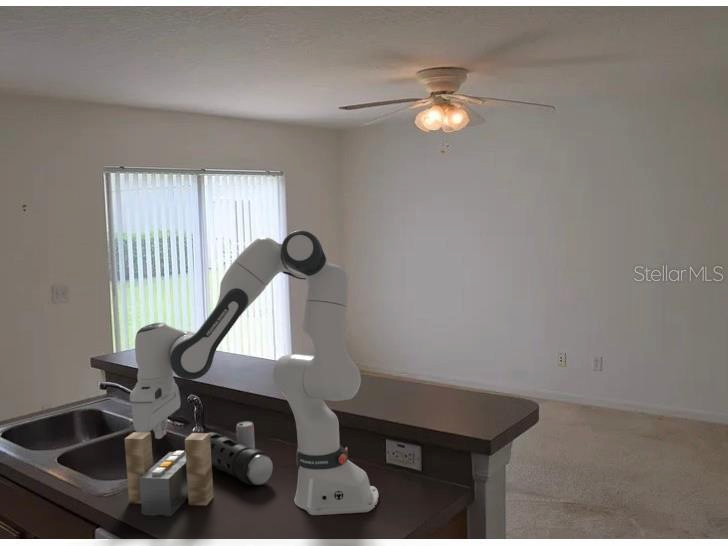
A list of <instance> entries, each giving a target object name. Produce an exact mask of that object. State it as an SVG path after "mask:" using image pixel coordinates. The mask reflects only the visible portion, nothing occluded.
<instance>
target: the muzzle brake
mask: <svg viewBox="0 0 728 546" xmlns="http://www.w3.org/2000/svg"><path fill="white" fill-rule="evenodd" d="M209 433H210V445H211V462H212V467H215V468H217V469H219V470H221V471H223V472H226V473H228V474H229V475H231V476H234V477H235V478H237V479H239V480H240V481H241V482H243V483H245V484H247V485H250V486H256V485H257V486H261V485H263V484H265V483H266V482H267V481H269V479H270V478H271V476H272V473H273V470H274V468H273V466H274V465H273V461H272V459H271V458H270V456H269V455H268V453H266V452H265V451H262V450H260V449H258V448H255V449H254V448H250V447H248V446H246V445H243V444H241V443H239V442H237V440H233V439H231V438H229V437H227V436H224V435H223V434H219V433H218V432H213V431H211V432H209ZM215 438H217V439H215Z"/></svg>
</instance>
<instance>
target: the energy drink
mask: <svg viewBox="0 0 728 546" xmlns="http://www.w3.org/2000/svg"><path fill="white" fill-rule="evenodd" d="M254 427H255V425H254V422H253V421H247V420H246V421H240V422H238V423H237V424H236V426H235V428H236V430H235V431H236V442H239V443H241V444H243V445H246V446H248V447H250V448H254V449H256V444H255V443H256V442H255V441H256V440H255V428H254Z"/></svg>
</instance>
